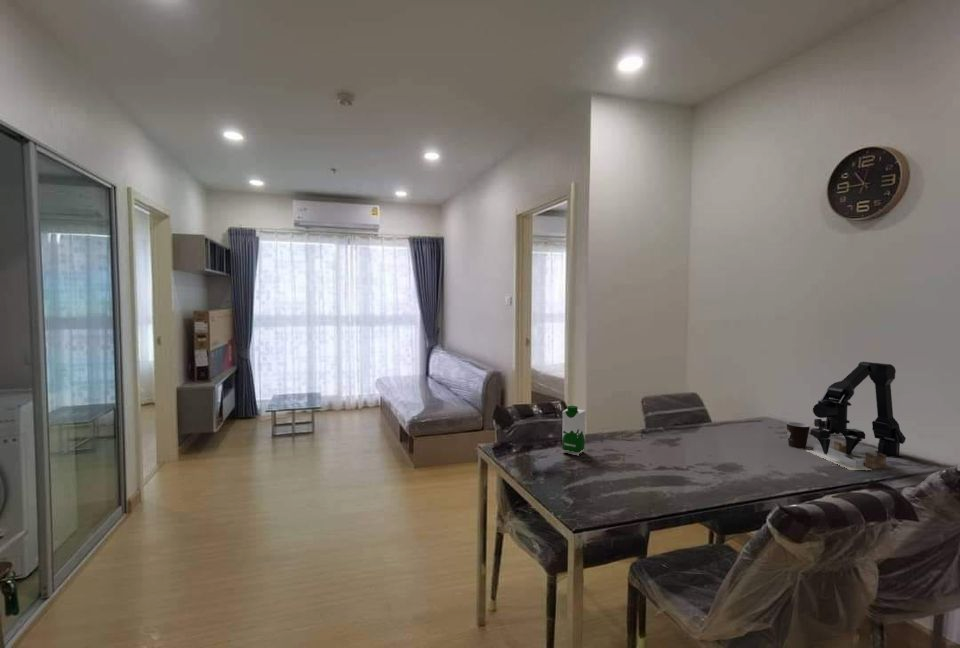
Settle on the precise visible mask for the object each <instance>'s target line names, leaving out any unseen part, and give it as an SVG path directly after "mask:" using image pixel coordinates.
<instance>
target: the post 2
mask: <svg viewBox="0 0 960 648" xmlns="http://www.w3.org/2000/svg"><path fill="white" fill-rule="evenodd" d="M864 458H865V459H864V460H865V461H864V463H865V464H864V465H865V466H864V467H866V468H869V467H870V468H869V469H876V468H886V467H887V465H886V464H887V456H886V455H884V454H881V453H877V452H876V455H874V454H872V453H869V452H865V457H864ZM886 469H887V468H886Z"/></svg>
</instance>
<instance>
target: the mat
mask: <svg viewBox="0 0 960 648" xmlns="http://www.w3.org/2000/svg"><path fill="white" fill-rule="evenodd" d="M805 452H807V453H809V452H810V454H811V453H812V455H814V456H816V455H817V457H818V456H819V458H822V459H823V458H824V460H825V459H826V461H828V462H830V461H831V462H830V463H832V462H833V464H835V465H837V464H838V466H839V465H840V467H841V468H844V467H845V469H846V468H847V469H846V470H848V471H855V470H866V472H868V471H867V470H871V471H872V468H869V467H867V466H864V465H863V469H855V468H853V467H851V466H848V465H846V464H843V463H841V462H839V461H836V460H834V459H831V458H829V457H827V456H824V455H822V454H820V453H817V452H815V451H813V450H812V449H805Z"/></svg>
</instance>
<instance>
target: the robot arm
mask: <svg viewBox="0 0 960 648" xmlns="http://www.w3.org/2000/svg"><path fill="white" fill-rule="evenodd" d="M896 372H897V371H896V367H895V366H894V365H892V364H890V363H883V362H882V363H880V362H871V361H869V362H868V361H860V362H859V363H858V365H857V366H856V367H855V368H854V369H853V370H852V371H851V372H850V373H849V374H848V375H846V376H845V377H844V378H843V379H842V380H841V381H836V382H834V383H832V384H831V385H830V384H829V386H828V387H827V389H826V390H825V393H824V394H823V396H822V397H821V399H820V400H817V403H816V404H815V405H814V406H813V408H812V413H813V414H814V416H816V418H815V419H814V423H813V424H814V427H812V428H811V429H810V430H809V431H810V436H813V438H815V439H817V440H818V442H819V444H821V446H822V449H823V452H824V454H827V453H828V449H829V448H830V443H831V439H830V437H831V436H833V437H844V439H845V441H846V454H848V455H849V454H850V453H851V452H852V453H853V450H854V449H855V448H856V446H857V445H858V444H859V443H860V442H862V441H863V440H865V439H866V433H865V431H863V430H860V429H857V428H848V427H847V426H848V424H850V420H849V419H848V407H851V406H852V404H851V402H850V400H851V399H852V398H853V396H854V395H855V389H856V388H857V387H858V386H859V385H860V384H861V383H862V382H863V381H864V380H866V378H868V377H869V378H870V380H871V382H873V383H874V389H875V401H876V412H877V417H876V418H875V419H874V420H873V421H872V422H871V424H872V425H871V426H872V432H873V434H874V435H873V436H874V438H875V439H878V443H877V450H875V453H876V454H877V453H881V454H884V455H886V457H888V456H903V455H901V454H900V449H901V447H900V445H901V444H904V443H905V442H906V440H907V439H906V437H905V435H904V434H903V433H902V431H901V429H900V425H899V422H898V421H897V420H896V419H895V417H894V413H893V412H894V411H893V399H892V397H893V396H892V389H891V388H892V386H891V384H892V383H893V381H894V380H895V379H896ZM824 418H825V420H822V419H824ZM849 456H850V455H849Z"/></svg>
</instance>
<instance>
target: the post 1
mask: <svg viewBox="0 0 960 648" xmlns="http://www.w3.org/2000/svg"><path fill="white" fill-rule="evenodd" d="M833 449H834V450H837V451H839V452H842V453H844V454H846V440H845V441H844V443H841V442H840V441H835V440H834V441H833ZM847 455H848V454H847ZM852 455H853V451H852V452H851V453H850V454H849V456H852Z"/></svg>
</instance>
